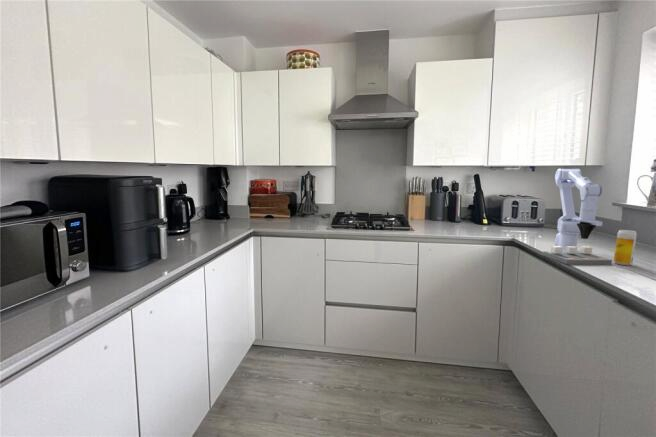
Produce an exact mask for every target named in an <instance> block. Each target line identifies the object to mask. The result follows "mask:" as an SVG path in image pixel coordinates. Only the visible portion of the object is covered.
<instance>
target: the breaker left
mask: <svg viewBox="0 0 656 437" xmlns="http://www.w3.org/2000/svg"><path fill="white" fill-rule="evenodd" d="M562 250H563V247H560V246H555V245H552V246H551V247H550V251H551V252H552V253H560V254H562V252H563V251H562Z"/></svg>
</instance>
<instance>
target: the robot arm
mask: <svg viewBox="0 0 656 437" xmlns="http://www.w3.org/2000/svg"><path fill="white" fill-rule="evenodd" d="M554 180H555V185H556V187H558V188H559V194H560V202H561V209H562V216H560V217H559V218H558V219H557V226H556V227H557V231H558V233H557V234H556V236H555V239H554V246H560V247H563V250H562V252H565V250H566V246H575V247H577V248H578V240H579V236H580V238H581V239H584V240H587V239H589V237H590V234H591V233H592V231H593V230H594V229H595V228H596V227H603V221H601V220H597V219H596V215H597V210H598V209H597V208H598V201H599V197H601V195H602V193H603V187H602V185H601V184H600V183H598V184H596V183H593V181H591V179H589V177H588V176H582V170H581V169H580V168H558V169H557V170H556V171H555V175H554ZM574 187H576V188H577V190H579V195H580V200H581V203H580V209H579V210H580V211H579V216H578V215H576V212H575V210H576V209H575V203H574V197H573V191H572V188H574ZM577 252H580V249H577Z"/></svg>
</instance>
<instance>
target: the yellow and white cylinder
mask: <svg viewBox="0 0 656 437" xmlns="http://www.w3.org/2000/svg"><path fill="white" fill-rule="evenodd" d="M637 236H638V233H637V231H635V230H629V229H619V230H618V232H617V234H616V242H615V249H614V255H613V262H614V263H615V264H617V265H620V266H631V265H632V264H633V262H634V261H633V260H634V255H635V248H636V242H637Z"/></svg>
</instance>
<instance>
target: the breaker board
mask: <svg viewBox="0 0 656 437" xmlns="http://www.w3.org/2000/svg"><path fill="white" fill-rule="evenodd" d="M542 256H543V257H547V258H549V259H551V260H554V261H557V262H559V263H561V264H565V265H592V266H593V265H597V266H598V265H599V264H601V265H605V266H606V265H608V266H609V265H610V266H611V265H612V264H613V263H612V262H613V260H612V259H609V258H605V257H603V256H600V255H596V254H593V253H592V254H584V253H580V252H577V254H569V253H566V252H564V251H562V254H560V253H552V252H551V250H550V251H549V250H547V251H543V253H542Z"/></svg>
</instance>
